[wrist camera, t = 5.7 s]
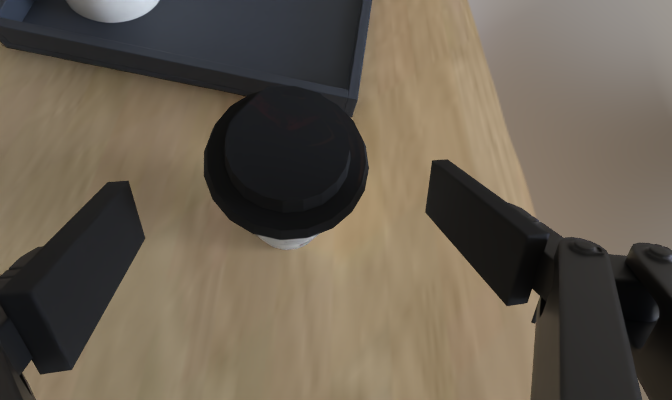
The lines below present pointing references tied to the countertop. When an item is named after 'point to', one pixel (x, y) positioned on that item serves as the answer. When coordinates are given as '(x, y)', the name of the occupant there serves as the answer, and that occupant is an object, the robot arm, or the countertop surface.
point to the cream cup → (112, 9)
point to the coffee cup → (286, 165)
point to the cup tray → (209, 42)
